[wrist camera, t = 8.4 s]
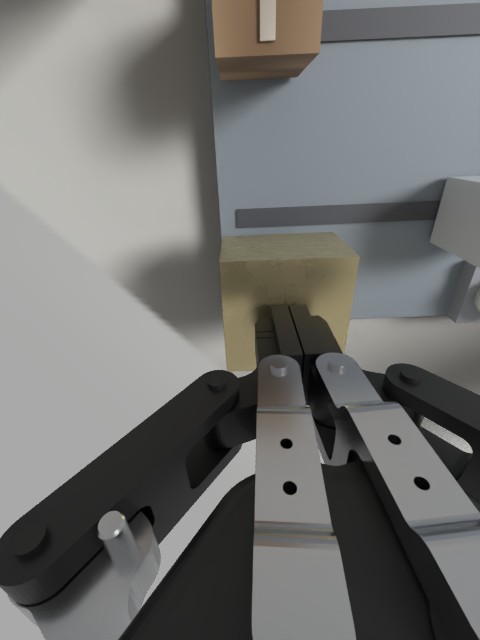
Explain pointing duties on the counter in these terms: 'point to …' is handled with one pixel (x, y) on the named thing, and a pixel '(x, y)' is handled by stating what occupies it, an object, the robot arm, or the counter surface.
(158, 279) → the counter surface
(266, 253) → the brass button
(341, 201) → the board
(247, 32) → the walnut fader
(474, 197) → the grey fader
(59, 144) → the counter surface
